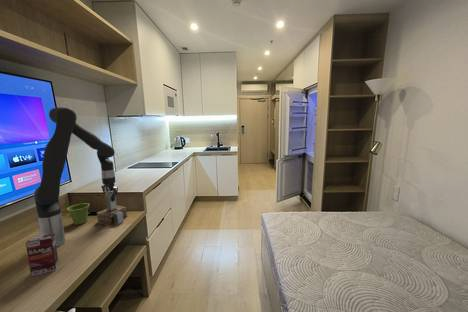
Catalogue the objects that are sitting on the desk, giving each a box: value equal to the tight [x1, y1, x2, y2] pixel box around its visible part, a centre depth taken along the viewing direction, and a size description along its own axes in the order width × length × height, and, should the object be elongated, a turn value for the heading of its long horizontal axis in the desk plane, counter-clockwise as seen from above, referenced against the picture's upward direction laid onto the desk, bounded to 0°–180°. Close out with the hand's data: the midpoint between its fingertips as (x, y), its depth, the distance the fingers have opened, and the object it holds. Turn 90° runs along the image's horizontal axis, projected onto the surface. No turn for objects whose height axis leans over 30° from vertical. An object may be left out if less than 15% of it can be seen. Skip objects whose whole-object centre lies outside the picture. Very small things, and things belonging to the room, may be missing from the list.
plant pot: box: [66, 202, 90, 226], centre depth 135 cm, size 12×12×11 cm
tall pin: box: [105, 193, 117, 212], centre depth 138 cm, size 4×4×14 cm
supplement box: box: [25, 233, 59, 277], centre depth 90 cm, size 9×5×16 cm, turn 118°
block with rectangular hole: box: [96, 204, 128, 226], centre depth 139 cm, size 14×10×7 cm
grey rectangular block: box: [112, 211, 124, 225], centre depth 134 cm, size 4×4×7 cm
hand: (111, 200), depth 137 cm, fingers closed on tall pin, 4 cm apart
